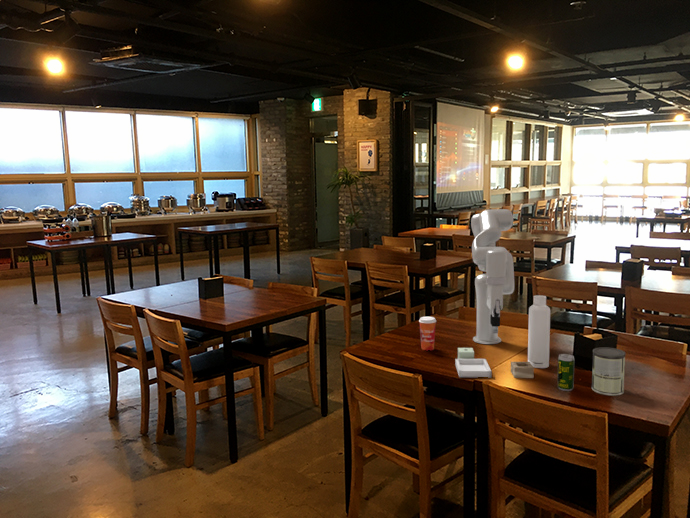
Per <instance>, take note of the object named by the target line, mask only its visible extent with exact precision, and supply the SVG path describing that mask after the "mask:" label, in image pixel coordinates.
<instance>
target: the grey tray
mask: <svg viewBox="0 0 690 518" xmlns="http://www.w3.org/2000/svg"><path fill="white" fill-rule="evenodd" d="M454 360H455V361H454V362H455V364H454V365H455V368H456V371H457V374H458V378H478V377H488V379H489V378H492V370H491V368H490V365H489V364H488V360H487V359H486V358H474V359H458V358H455V359H454Z"/></svg>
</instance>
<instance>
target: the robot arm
mask: <svg viewBox="0 0 690 518" xmlns="http://www.w3.org/2000/svg"><path fill="white" fill-rule="evenodd" d="M470 222H471V223H470V225H471V231H472V233H473V236H474V239H473V241H472V244H471V255H472V256H471V257H472V262H473V263H474V264H475V265H477V267H478V269H479V271H481V272H486V273H481V274H478V275H477V276H476V277H475V278H474V286H475V287H474V288H475V293H476V294H475V296H476V335H475V336H473V337H472V341H474V343H478V344H483V345H495V344H496V345H497V344H499V343H501V342H502V338H501V337H499V336H498V334H499V332H498V333H492V326H493V327H498V328H499V327H501V310H503V307H504V295H512V294H513V293H514V292H515V271H514V269H515V268H514V267H515V266H514V258H513V255H512V254H511V252H509V251H508V250H507V249H506V247H504V246H496V242H498V241H499V240H500V239H501V237H502V232H507V231H509V230H511V228H512V227H513V225H514V216H513V213H512V211H511V210H510V209H506V208H503V209H502V208H501V209H497V208H496V209H493V208H492V209H484V210H483V211H481V213H477V214H473V215H472V217H471V219H470ZM494 308H496V309H494ZM492 309H493V317H492ZM494 311H495V312H494Z"/></svg>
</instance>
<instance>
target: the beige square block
mask: <svg viewBox="0 0 690 518" xmlns="http://www.w3.org/2000/svg"><path fill="white" fill-rule="evenodd" d="M534 371H535V367H533V366H532V365H531V363H530V362H528V361H510V373H511V375H512V376H513V378H514V379H534V375H535V374H534V373H535V372H534Z"/></svg>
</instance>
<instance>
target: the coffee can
mask: <svg viewBox="0 0 690 518" xmlns="http://www.w3.org/2000/svg"><path fill="white" fill-rule="evenodd" d="M626 356H627V355H626V352H625V351H624V350H621V349H619V348H614V347H604V346H603V347H600V346H599V347H595V348H593V349H592V372H591V373H592V375H591V389H592V391H594V392H595V393H597V394H600V395H604V396H611V397H612V396H620V395H623V394H624V393H625V391H624V390H625V367H626V366H625V365H626V364H625V363H626Z"/></svg>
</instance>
